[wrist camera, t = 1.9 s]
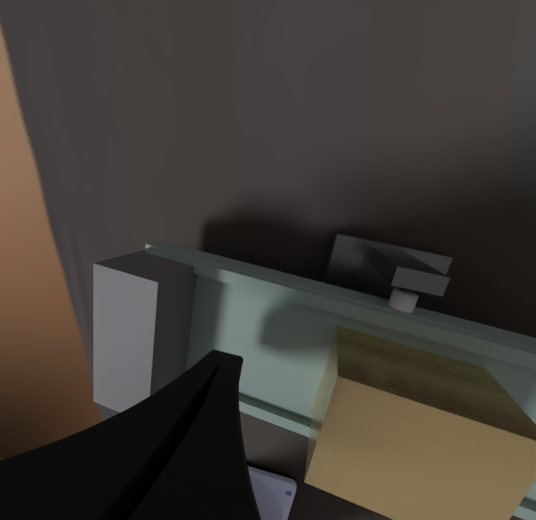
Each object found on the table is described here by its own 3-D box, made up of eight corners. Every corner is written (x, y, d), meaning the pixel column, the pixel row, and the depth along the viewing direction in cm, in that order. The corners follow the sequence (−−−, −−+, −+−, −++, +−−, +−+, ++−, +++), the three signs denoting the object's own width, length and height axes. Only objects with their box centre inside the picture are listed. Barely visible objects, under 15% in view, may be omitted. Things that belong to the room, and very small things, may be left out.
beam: (627, 541, 12) (778, 718, 8) (151, 365, 16) (93, 417, 12) (769, 379, 9) (1099, 515, 5) (161, 228, 14) (93, 239, 10)
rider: (442, 456, 12) (484, 557, 8) (312, 409, 13) (304, 482, 10) (485, 368, 10) (557, 447, 7) (337, 325, 11) (337, 376, 8)
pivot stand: (377, 421, 17) (403, 502, 13) (291, 397, 18) (286, 468, 13) (443, 253, 14) (508, 282, 10) (335, 231, 15) (348, 248, 10)
